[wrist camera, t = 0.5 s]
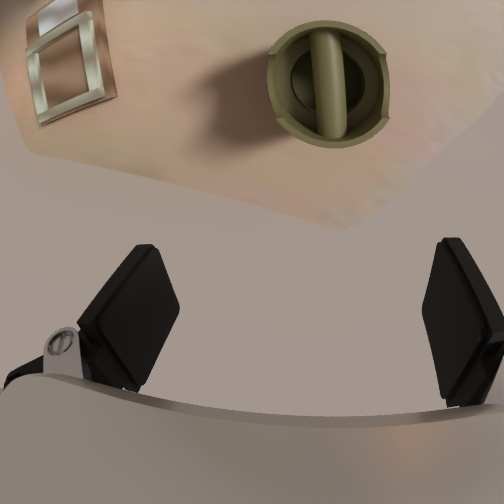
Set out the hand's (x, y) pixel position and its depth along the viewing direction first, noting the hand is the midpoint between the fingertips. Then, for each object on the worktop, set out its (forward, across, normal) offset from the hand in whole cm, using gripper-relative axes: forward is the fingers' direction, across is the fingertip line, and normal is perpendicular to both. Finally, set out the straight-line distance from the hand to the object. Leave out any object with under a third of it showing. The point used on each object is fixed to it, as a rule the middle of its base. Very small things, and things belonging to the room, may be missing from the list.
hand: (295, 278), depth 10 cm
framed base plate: (+30, +34, -18) cm, 49 cm away
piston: (+31, -2, -5) cm, 31 cm away
